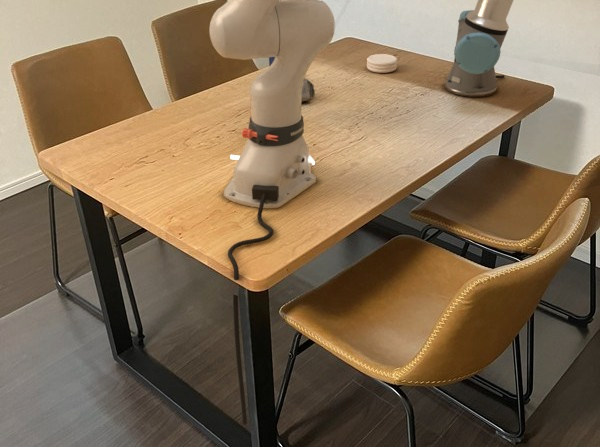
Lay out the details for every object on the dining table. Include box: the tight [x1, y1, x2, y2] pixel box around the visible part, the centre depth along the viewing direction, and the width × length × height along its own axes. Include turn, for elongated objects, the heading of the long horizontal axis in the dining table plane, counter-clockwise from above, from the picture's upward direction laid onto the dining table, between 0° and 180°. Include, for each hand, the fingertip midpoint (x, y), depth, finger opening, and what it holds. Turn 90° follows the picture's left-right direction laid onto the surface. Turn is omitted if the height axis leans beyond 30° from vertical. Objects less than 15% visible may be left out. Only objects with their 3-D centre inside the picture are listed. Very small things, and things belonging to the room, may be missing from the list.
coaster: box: [366, 53, 398, 74], centre depth 205 cm, size 10×10×4 cm
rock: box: [301, 78, 316, 102], centre depth 184 cm, size 15×10×7 cm
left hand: (286, 62), depth 164 cm, fingers closed on brick, 5 cm apart
